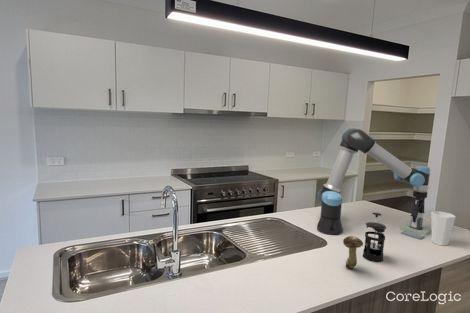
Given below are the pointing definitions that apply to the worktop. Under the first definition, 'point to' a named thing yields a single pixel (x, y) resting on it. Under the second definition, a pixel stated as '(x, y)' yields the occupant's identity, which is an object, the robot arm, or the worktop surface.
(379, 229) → the french press
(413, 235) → the phone
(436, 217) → the cup
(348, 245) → the mushroom
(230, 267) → the worktop surface
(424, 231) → the outlet plate
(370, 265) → the worktop surface
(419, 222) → the block
